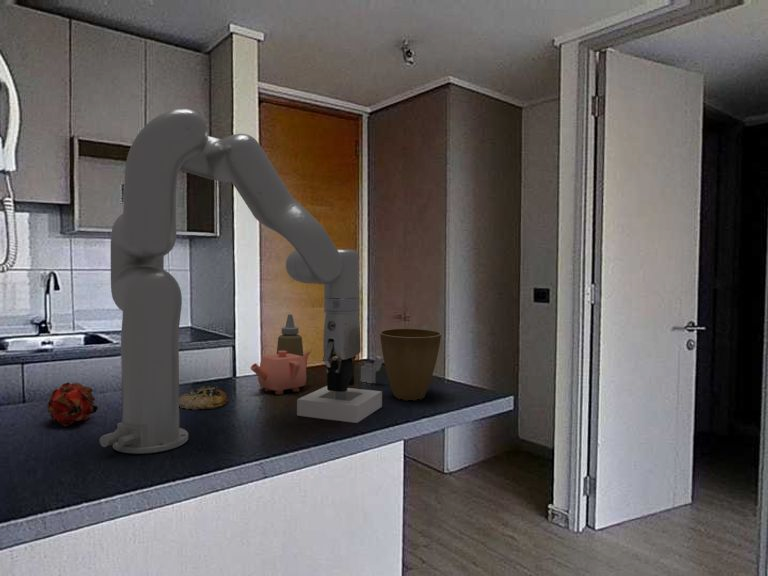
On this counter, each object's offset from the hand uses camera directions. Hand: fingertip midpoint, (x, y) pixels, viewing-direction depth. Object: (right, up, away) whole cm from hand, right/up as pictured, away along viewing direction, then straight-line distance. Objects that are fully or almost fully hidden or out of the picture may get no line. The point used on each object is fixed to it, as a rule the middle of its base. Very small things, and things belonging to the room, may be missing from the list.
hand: (340, 386), depth 124 cm
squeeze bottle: (-17, -4, +32) cm, 37 cm away
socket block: (0, -5, 0) cm, 5 cm away
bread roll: (-32, -5, +5) cm, 33 cm away
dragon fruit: (-53, -6, -10) cm, 55 cm away
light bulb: (0, -4, 0) cm, 4 cm away
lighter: (+6, -4, +28) cm, 29 cm away
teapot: (-16, -5, +19) cm, 26 cm away
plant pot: (+16, -5, +13) cm, 21 cm away
